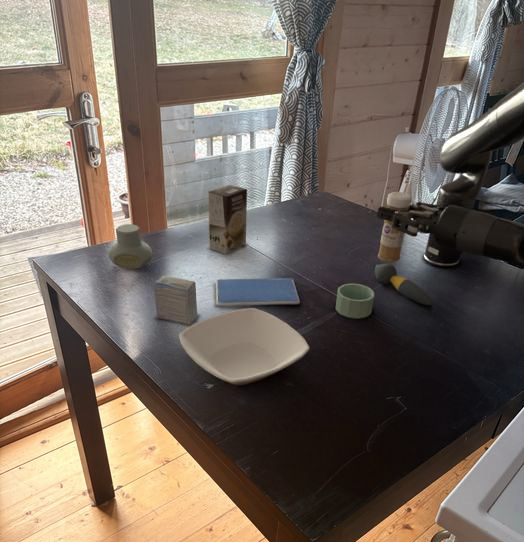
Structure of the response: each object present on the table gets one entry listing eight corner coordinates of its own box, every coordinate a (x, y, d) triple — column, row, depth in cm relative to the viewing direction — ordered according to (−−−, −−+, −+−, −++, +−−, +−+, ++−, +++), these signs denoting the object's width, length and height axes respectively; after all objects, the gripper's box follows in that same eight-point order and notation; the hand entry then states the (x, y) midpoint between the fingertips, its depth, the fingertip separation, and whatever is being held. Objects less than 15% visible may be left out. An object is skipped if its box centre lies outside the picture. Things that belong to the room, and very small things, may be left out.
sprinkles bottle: (373, 258, 107) (383, 194, 100) (384, 252, 110) (395, 189, 103) (393, 265, 105) (405, 200, 97) (403, 258, 108) (416, 194, 100)
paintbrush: (440, 304, 123) (445, 285, 120) (427, 310, 120) (431, 291, 117) (377, 273, 135) (380, 256, 132) (364, 278, 133) (367, 260, 130)
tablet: (216, 308, 117) (216, 303, 117) (215, 282, 128) (215, 277, 127) (300, 306, 119) (300, 301, 118) (292, 281, 129) (292, 277, 129)
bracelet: (347, 297, 124) (350, 280, 121) (377, 308, 120) (380, 291, 117) (328, 309, 119) (330, 292, 116) (359, 322, 115) (362, 304, 112)
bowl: (167, 354, 102) (165, 332, 99) (254, 322, 113) (255, 301, 110) (228, 414, 88) (228, 391, 85) (321, 371, 99) (324, 348, 96)
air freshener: (155, 258, 138) (152, 222, 132) (150, 272, 131) (147, 235, 125) (114, 257, 137) (109, 221, 132) (107, 271, 131) (101, 234, 125)
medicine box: (197, 315, 114) (196, 281, 109) (189, 325, 111) (187, 290, 106) (166, 309, 116) (163, 274, 111) (156, 318, 113) (153, 283, 108)
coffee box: (226, 254, 141) (226, 197, 132) (208, 248, 144) (207, 191, 135) (246, 244, 148) (247, 188, 138) (229, 238, 150) (229, 183, 141)
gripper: (486, 201, 97) (404, 182, 106) (457, 221, 88) (369, 198, 97) (476, 239, 101) (397, 217, 110) (446, 261, 92) (363, 236, 101)
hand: (384, 208), depth 103 cm, fingers closed on sprinkles bottle, 4 cm apart
